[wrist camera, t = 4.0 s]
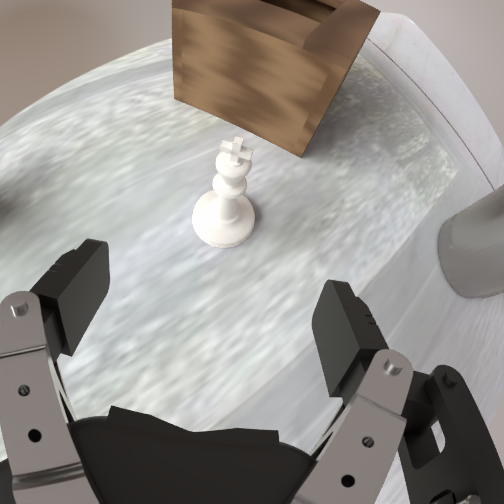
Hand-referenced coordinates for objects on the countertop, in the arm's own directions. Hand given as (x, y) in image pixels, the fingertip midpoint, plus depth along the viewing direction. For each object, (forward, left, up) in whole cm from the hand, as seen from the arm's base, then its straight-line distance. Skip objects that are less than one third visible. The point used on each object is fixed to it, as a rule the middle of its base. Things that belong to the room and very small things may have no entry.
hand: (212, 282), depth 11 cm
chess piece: (+3, -7, -12) cm, 14 cm away
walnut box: (+7, -23, -11) cm, 27 cm away
